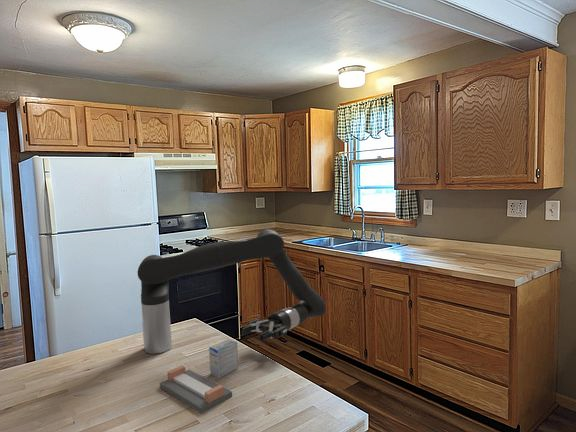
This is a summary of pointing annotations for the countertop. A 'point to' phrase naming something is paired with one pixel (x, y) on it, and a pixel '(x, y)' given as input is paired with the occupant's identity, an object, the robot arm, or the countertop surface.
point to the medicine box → (223, 358)
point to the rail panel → (194, 389)
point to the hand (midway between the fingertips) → (250, 335)
